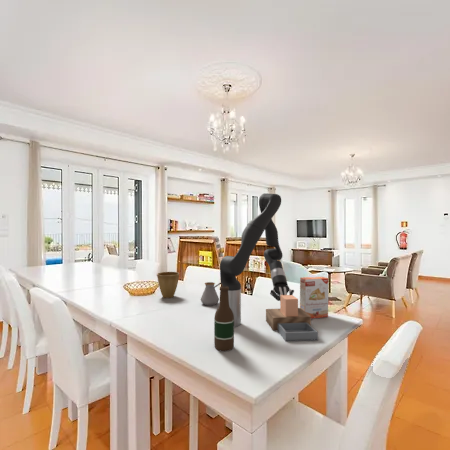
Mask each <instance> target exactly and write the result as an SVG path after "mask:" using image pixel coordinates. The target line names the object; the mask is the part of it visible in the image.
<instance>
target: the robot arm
mask: <svg viewBox="0 0 450 450" xmlns="http://www.w3.org/2000/svg"><path fill="white" fill-rule="evenodd" d="M281 205H282V197H281V195H280V194H277V193H262V194H261V195H259V198H258V206H259V211H260V214H258V215H256V216H255V217H253V218H252V219H251V220H250V221H249V222H248V223H247V224H246V226H245V228H244V229H243V231H242V234H241V241H240V247H239V249H238V251H237V252H236V253H235V255H234V256H232V255H226V256H224V257H222V259H221V261H220V265H219V276H220V279H219V280H220V282H221V284H220V285H221V286H227V287H229V290H228V295H229V306H230V308H231V310H232V312H233V314H234V328H235V327H238V326H240V325H241V323H242V284H241V283H240V281H239V280H238V279H237V276H240V275H241V274H242V273H243V271H244V270H245V269H246V266H247V264H248V261H249V259H250V257H251V255H252V253H253V252H254V249H255V247H256V245H257V244H258V242H259V240H260V239H261V237H262V236H263V235H264V234H263V233H265V244H266V246H267V247H273V248H268V249H265V250H264V252H263V257H264V259H265V261H266V263H267V264H268V266H269V270H270V276H271V282H272V286H273V289H271V290H270V293H269V294H270V296H271V297H273V298H274V299H275V300H276V301H278V302H280V295H293V294H294V293H295V290H294V289H291V288H290V286H289V285H288V280H287V277H286V274H285V270H284V267H283V263H282V262H281V260H282V258H283V257H284V255H283V252H282V249H281V246H280V243H279V232H278V229H277V227H276V224H275V222H274V221H273V217H274V216H275V215H276V213H277V212H278V210H279V209H280V207H281ZM293 296H294V295H293Z"/></svg>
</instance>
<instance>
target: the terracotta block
mask: <svg viewBox="0 0 450 450" xmlns="http://www.w3.org/2000/svg"><path fill="white" fill-rule="evenodd" d="M279 302H280V307H279V309H280V312H281V313H282V314H283V315H284V316H286V317H289V316H298V308H299V298H297V297H296V296H294V295H289V294H287V295H280V301H279Z"/></svg>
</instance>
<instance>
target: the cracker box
mask: <svg viewBox="0 0 450 450" xmlns="http://www.w3.org/2000/svg"><path fill="white" fill-rule="evenodd" d="M299 279H300V280H299V308H301V309H302V310H303V311H305V312H306V313H307V314H308V315H310V316H311V320H312V319H319V318H321V319H322V318H328V317H329V280H330V279H329V278H328V277H325V276H311V277H310V276H307V277H304V276H303V277H300V278H299Z"/></svg>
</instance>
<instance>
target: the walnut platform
mask: <svg viewBox="0 0 450 450" xmlns="http://www.w3.org/2000/svg"><path fill="white" fill-rule="evenodd" d="M265 321H266V323H267V325H268V326H269V327H270V329H271V330H272V331H277V332H278V323H308V324H309V325H311V326H312V319H311V316H310V315H308V314H307V313H306V312H305V311H303V310H302V309H301V308H300V307H298V316H289V317H286V316H284V315H283V314H282V313H281V312H280V308H266V309H265Z"/></svg>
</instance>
